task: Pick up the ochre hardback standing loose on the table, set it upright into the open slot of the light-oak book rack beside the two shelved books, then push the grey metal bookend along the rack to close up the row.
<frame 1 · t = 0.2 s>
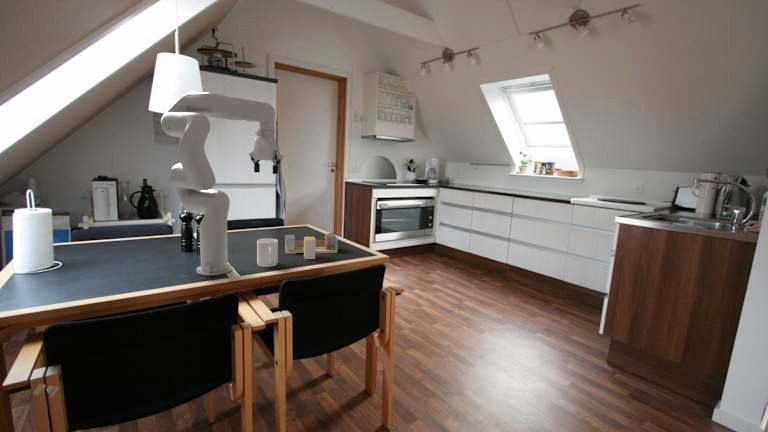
hand: (266, 173, 167), 37 cm above the table, tool pointing down, fingers open, 9 cm apart
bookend: (290, 242, 174), point 4 cm above the table, slide at 0.0 cm
rack: (311, 250, 178), on the table
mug: (268, 266, 152), on the table
book: (309, 257, 167), on the table
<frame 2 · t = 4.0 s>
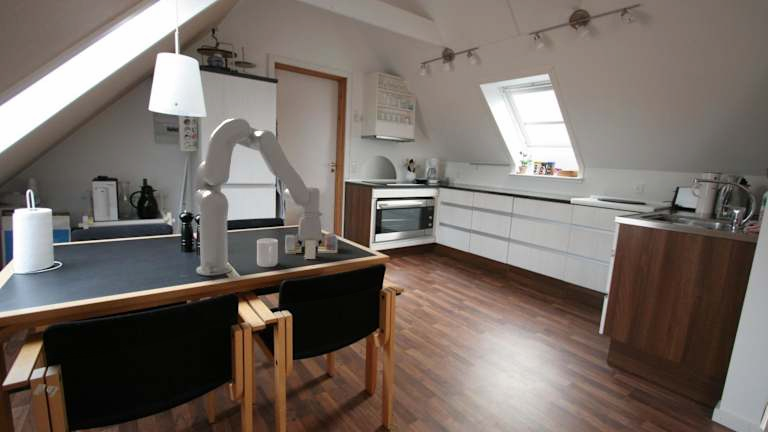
hand: (309, 254, 167), 2 cm above the table, tool pointing down, fingers closed on book, 4 cm apart
book: (309, 257, 167), on the table, touching gripper
everything else where it was.
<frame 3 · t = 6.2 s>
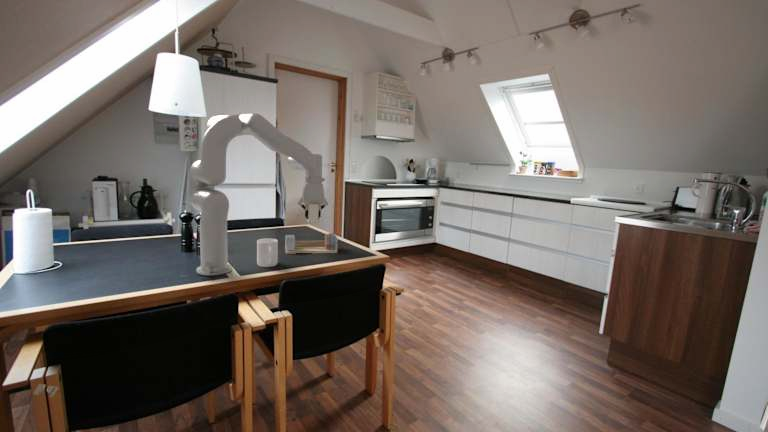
hand: (312, 218, 174), 16 cm above the table, tool pointing down, fingers closed on book, 4 cm apart
book: (312, 221, 175), point 15 cm above the table, touching gripper
everything else where it was.
when the fingers open (4 cm above the table, at t = 8.6 s): book drops 1 cm, resting on rack.
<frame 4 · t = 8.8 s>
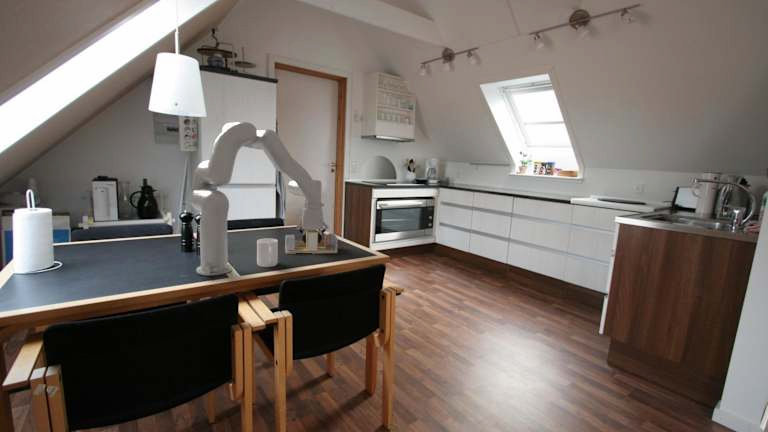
hand: (311, 242, 176), 5 cm above the table, tool pointing down, fingers open, 6 cm apart
book: (311, 249, 177), point 1 cm above the table, touching rack
everything else where it was.
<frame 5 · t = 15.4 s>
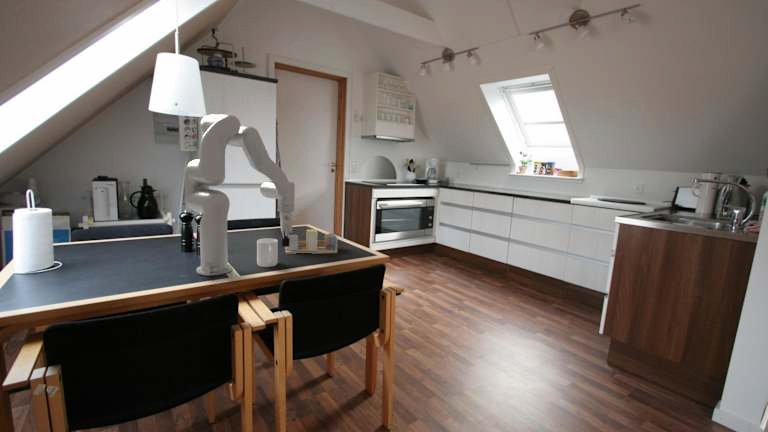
hand: (285, 246, 174), 3 cm above the table, tool pointing down, fingers closed
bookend: (293, 242, 174), point 4 cm above the table, slide at 1.5 cm, touching gripper
everything else where it was.
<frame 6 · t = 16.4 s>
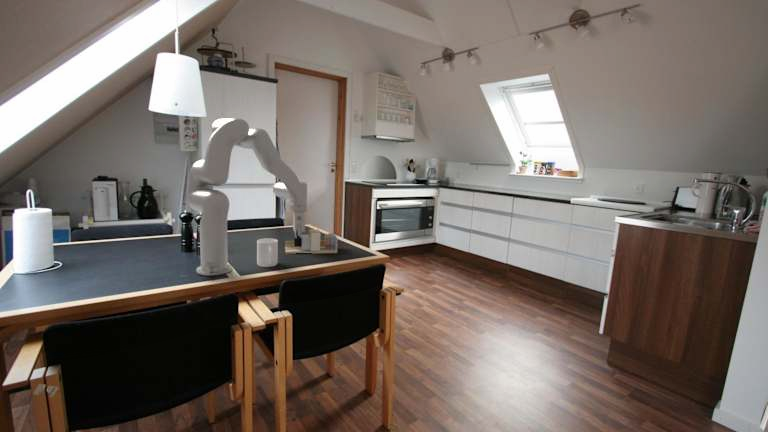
hand: (297, 245, 175), 3 cm above the table, tool pointing down, fingers closed
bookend: (305, 242, 176), point 4 cm above the table, slide at 7.2 cm, touching gripper
book: (314, 249, 177), point 1 cm above the table, touching rack
everything else where it was.
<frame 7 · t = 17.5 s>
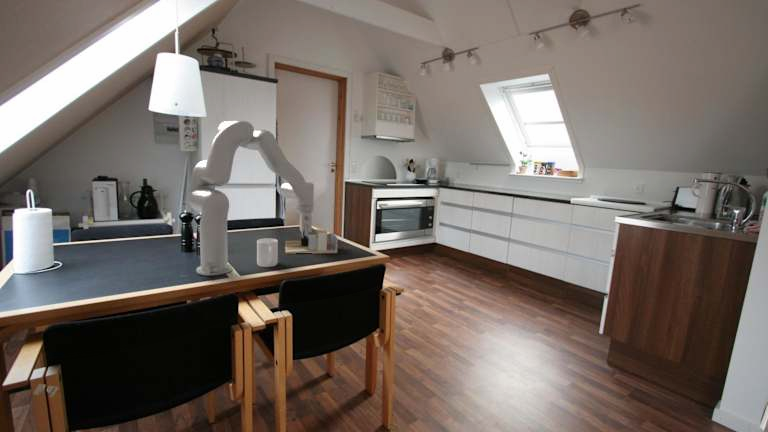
hand: (304, 245, 176), 3 cm above the table, tool pointing down, fingers closed
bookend: (312, 242, 177), point 4 cm above the table, slide at 10.4 cm, touching gripper
book: (320, 248, 178), point 1 cm above the table, touching rack
everything else where it was.
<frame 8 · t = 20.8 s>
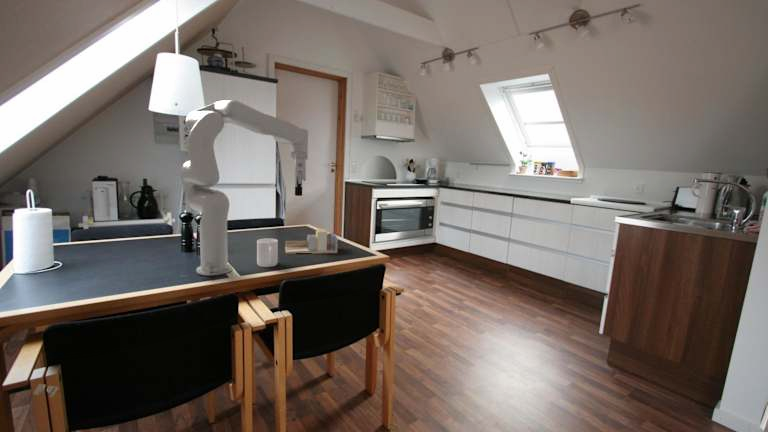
hand: (298, 195, 171), 27 cm above the table, tool pointing down, fingers closed
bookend: (312, 242, 177), point 4 cm above the table, slide at 10.4 cm
everything else where it was.
at the end: book 1.1 cm from the target spot on the rack, point 1.2 cm above the rack's base; book tilted 0°; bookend slide at 10.4 cm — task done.
